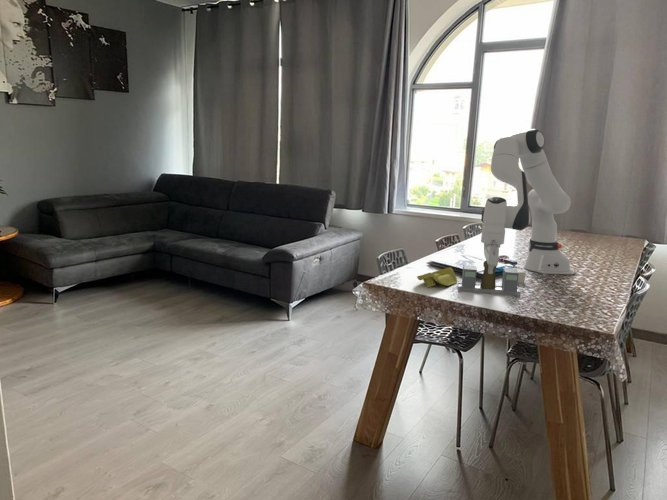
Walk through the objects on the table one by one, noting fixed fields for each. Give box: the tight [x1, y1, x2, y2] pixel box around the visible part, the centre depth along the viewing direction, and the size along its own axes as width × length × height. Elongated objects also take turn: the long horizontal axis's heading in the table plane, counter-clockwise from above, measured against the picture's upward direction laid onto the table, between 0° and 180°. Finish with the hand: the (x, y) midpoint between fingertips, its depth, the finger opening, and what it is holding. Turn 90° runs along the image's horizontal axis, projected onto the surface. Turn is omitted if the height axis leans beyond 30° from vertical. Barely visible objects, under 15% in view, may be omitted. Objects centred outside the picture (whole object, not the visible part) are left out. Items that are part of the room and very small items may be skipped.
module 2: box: [501, 267, 519, 293], centre depth 198 cm, size 5×7×8 cm
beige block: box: [516, 268, 526, 284], centre depth 216 cm, size 4×5×5 cm
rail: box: [457, 281, 521, 297], centre depth 201 cm, size 24×7×2 cm, turn 78°
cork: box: [480, 260, 498, 289], centre depth 200 cm, size 6×6×11 cm
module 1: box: [461, 264, 478, 289], centre depth 201 cm, size 5×7×8 cm
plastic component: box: [416, 267, 458, 288], centre depth 209 cm, size 20×7×10 cm
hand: (489, 271), depth 200 cm, fingers closed on cork, 4 cm apart
